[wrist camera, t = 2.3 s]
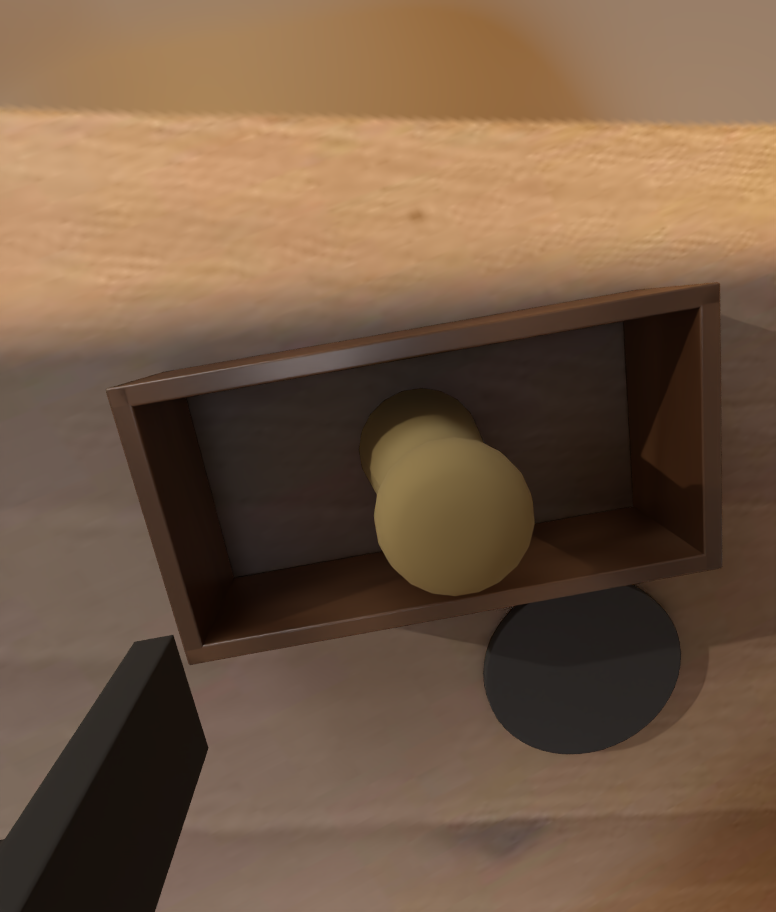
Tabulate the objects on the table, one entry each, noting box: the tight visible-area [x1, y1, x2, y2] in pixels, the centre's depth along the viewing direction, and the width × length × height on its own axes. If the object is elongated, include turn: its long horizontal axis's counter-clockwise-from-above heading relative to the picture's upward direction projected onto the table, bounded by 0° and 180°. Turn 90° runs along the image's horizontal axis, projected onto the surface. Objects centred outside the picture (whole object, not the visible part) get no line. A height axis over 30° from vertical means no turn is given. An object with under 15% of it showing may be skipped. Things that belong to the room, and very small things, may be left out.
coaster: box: [483, 585, 681, 754], centre depth 30 cm, size 11×11×1 cm
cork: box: [359, 388, 535, 596], centre depth 21 cm, size 6×6×11 cm
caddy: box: [106, 282, 722, 665], centre depth 24 cm, size 23×12×6 cm, turn 100°
